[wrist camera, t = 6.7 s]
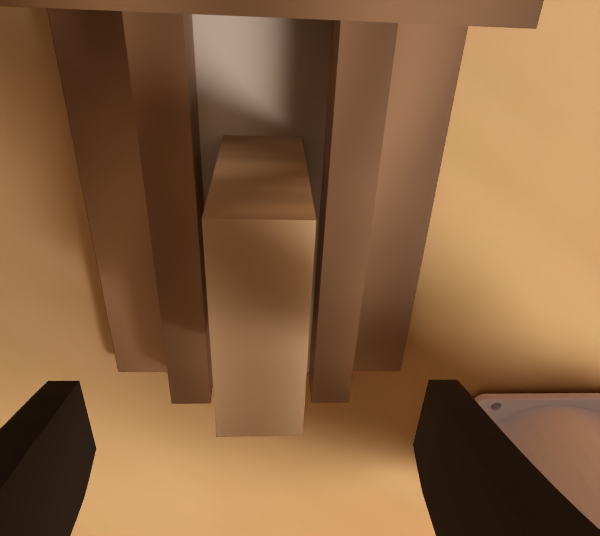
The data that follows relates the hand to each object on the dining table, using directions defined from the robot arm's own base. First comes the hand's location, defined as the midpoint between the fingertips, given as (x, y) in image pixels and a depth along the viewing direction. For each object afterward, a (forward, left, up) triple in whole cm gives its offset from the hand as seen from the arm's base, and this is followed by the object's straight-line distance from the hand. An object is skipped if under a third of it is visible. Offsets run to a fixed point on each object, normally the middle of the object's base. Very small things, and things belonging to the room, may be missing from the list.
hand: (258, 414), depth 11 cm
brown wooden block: (0, 0, -8) cm, 9 cm away
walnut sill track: (0, 0, -9) cm, 9 cm away
